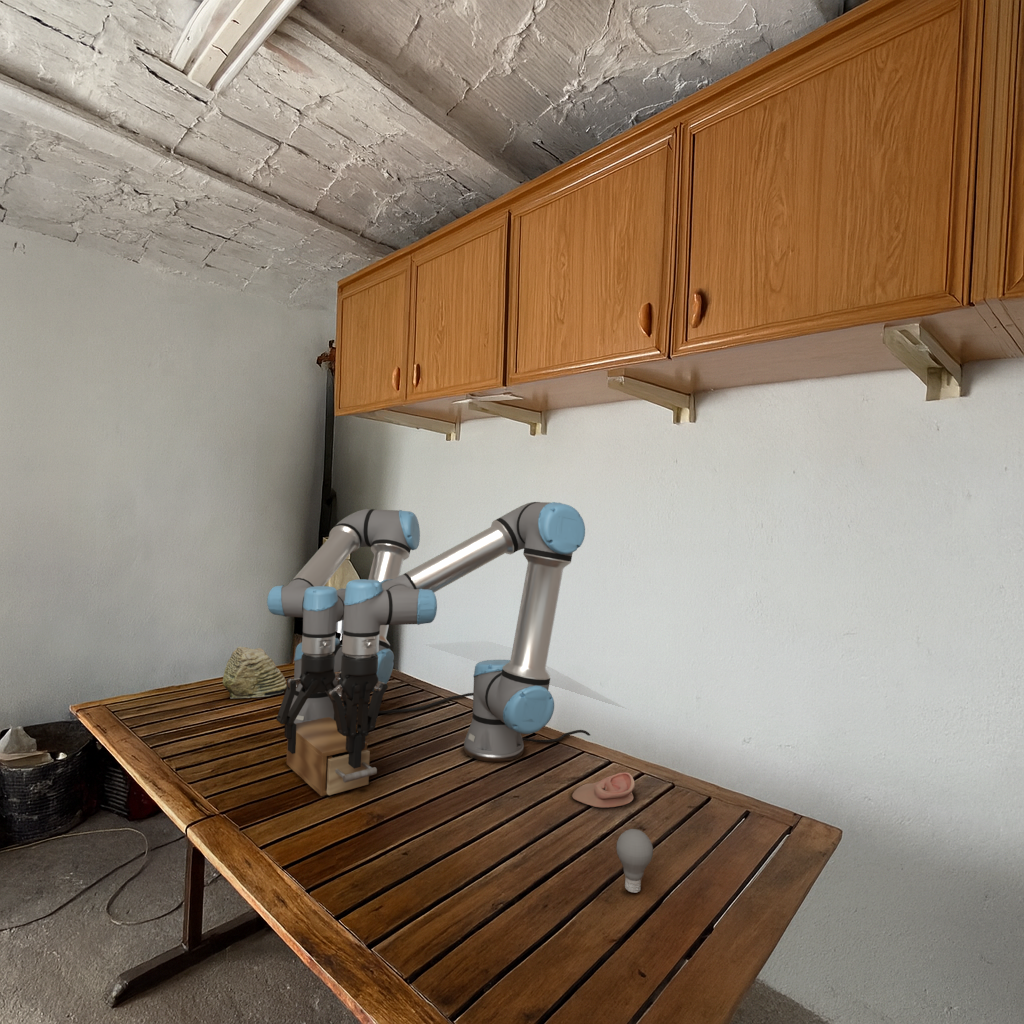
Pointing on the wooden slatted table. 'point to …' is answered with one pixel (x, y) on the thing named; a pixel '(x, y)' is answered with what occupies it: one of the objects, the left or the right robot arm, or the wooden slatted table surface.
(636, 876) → the light bulb
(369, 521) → the left robot arm
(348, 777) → the drawer
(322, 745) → the cabinet
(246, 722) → the wooden slatted table surface
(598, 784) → the anatomical model
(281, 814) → the wooden slatted table surface
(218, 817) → the wooden slatted table surface
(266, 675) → the fossil
